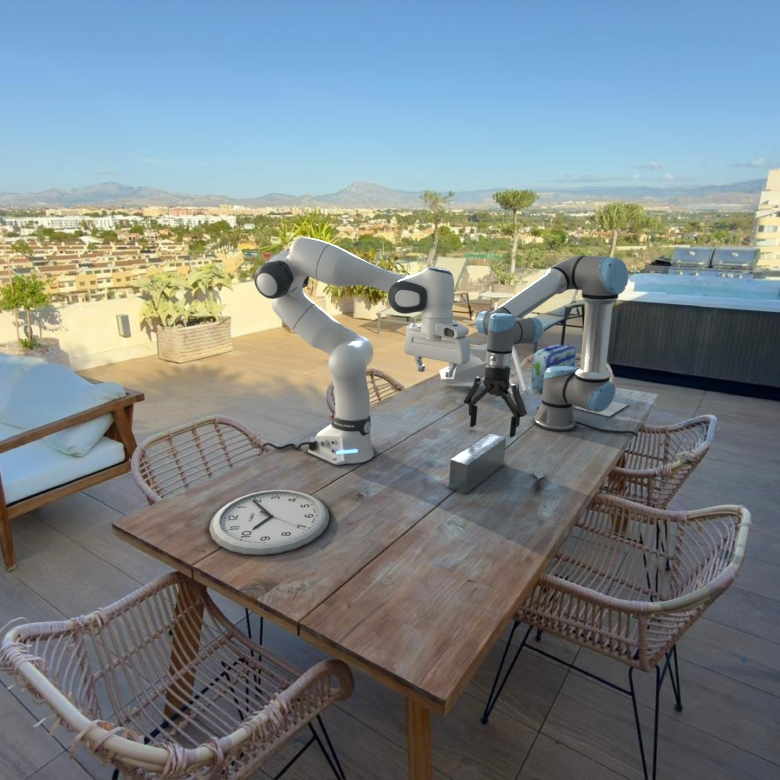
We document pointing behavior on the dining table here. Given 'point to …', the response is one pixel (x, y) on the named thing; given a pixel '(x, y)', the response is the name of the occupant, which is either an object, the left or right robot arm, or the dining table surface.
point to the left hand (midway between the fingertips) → (434, 374)
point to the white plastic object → (479, 368)
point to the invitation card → (608, 409)
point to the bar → (476, 463)
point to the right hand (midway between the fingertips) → (492, 430)
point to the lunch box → (550, 362)
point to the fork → (538, 475)
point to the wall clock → (269, 522)
